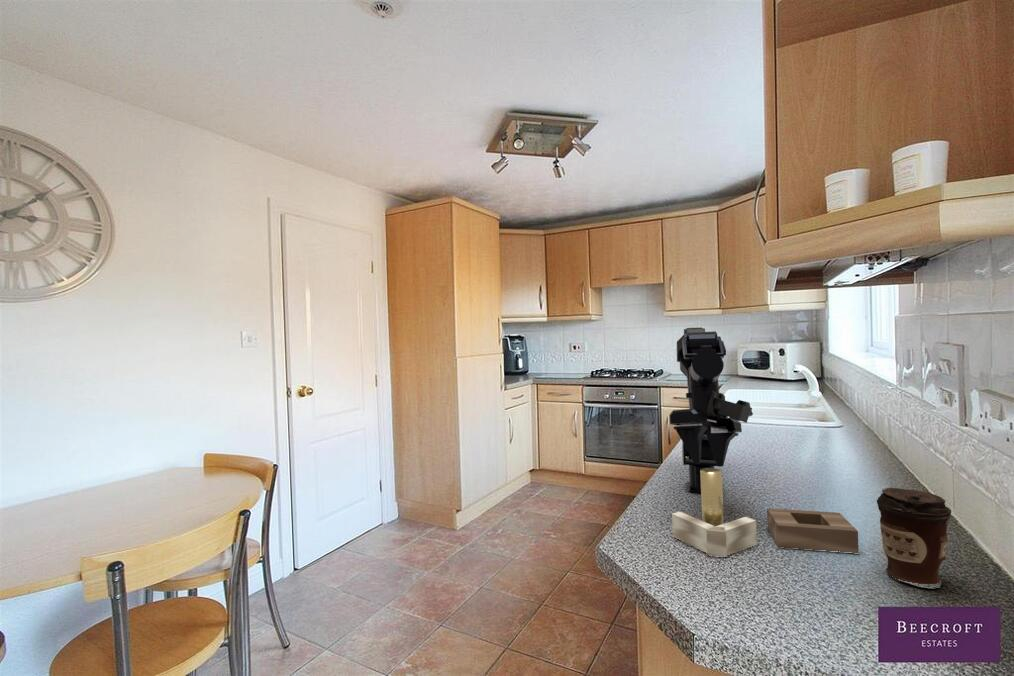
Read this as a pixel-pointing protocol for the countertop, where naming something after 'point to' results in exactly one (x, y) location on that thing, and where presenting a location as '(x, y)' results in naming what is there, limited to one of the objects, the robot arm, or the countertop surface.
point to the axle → (712, 496)
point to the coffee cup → (913, 534)
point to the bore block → (812, 530)
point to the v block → (715, 534)
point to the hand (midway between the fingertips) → (709, 465)
